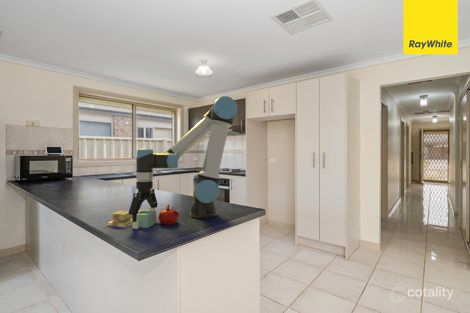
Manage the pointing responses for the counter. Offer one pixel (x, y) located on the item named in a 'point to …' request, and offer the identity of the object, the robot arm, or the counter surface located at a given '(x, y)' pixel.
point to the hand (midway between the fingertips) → (144, 224)
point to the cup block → (146, 218)
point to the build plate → (121, 219)
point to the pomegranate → (168, 216)
